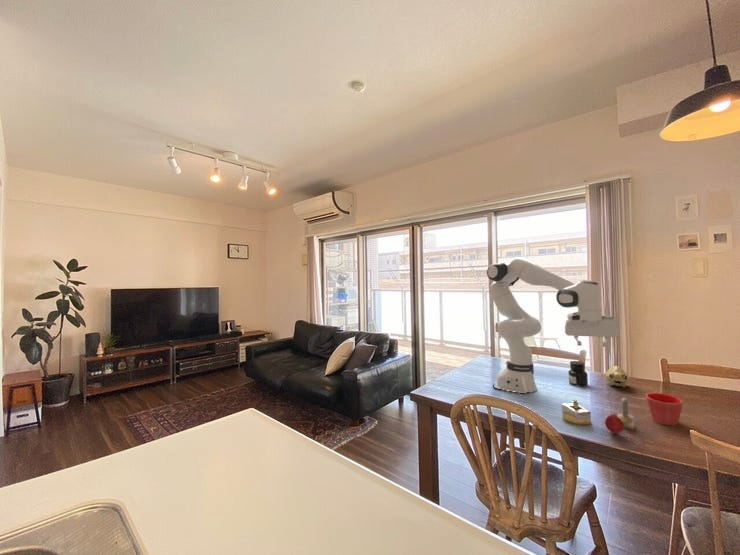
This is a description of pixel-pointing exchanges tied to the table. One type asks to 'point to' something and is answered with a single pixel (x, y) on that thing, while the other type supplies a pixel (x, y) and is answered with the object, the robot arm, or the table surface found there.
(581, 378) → the ink bottle
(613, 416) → the red rounded piece
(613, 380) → the toy pig
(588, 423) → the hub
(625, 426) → the stand
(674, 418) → the flower pot
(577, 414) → the white flat block
